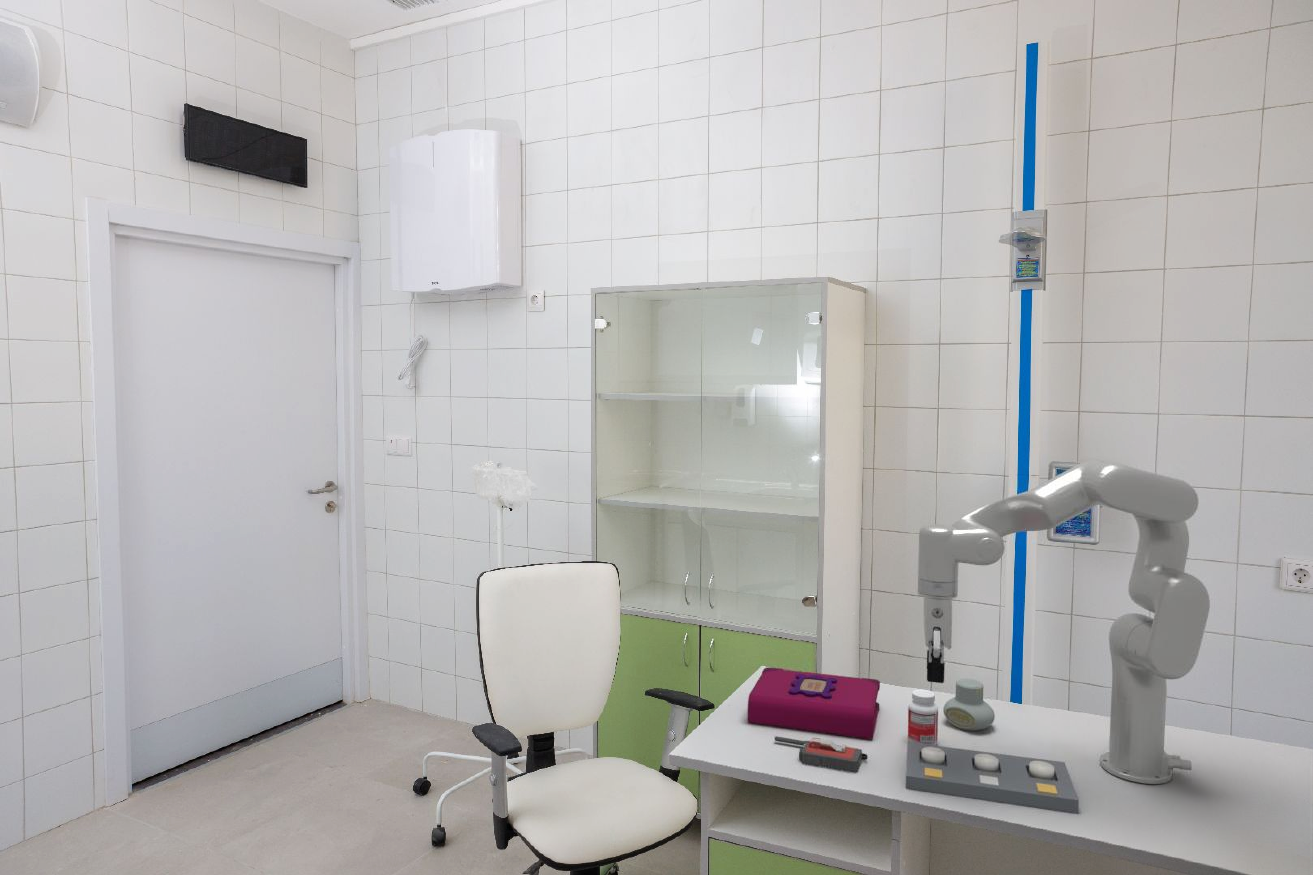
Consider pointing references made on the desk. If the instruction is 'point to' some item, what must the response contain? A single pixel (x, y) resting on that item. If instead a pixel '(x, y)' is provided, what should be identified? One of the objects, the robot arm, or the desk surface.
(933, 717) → the pill bottle
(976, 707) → the air freshener
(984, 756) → the middle button
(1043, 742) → the desk surface
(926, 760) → the far button
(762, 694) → the book
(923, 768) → the button board
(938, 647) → the robot arm
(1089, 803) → the desk surface
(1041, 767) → the near button
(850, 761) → the walkie-talkie
